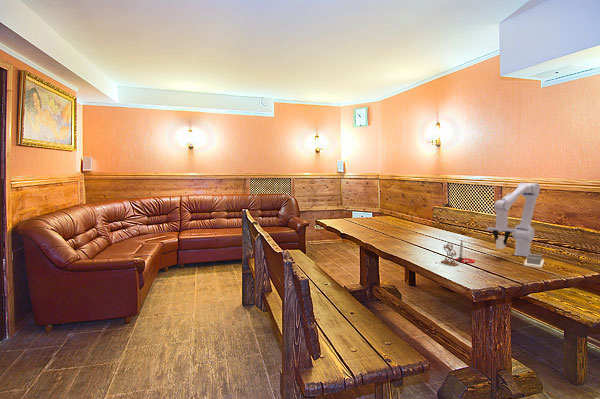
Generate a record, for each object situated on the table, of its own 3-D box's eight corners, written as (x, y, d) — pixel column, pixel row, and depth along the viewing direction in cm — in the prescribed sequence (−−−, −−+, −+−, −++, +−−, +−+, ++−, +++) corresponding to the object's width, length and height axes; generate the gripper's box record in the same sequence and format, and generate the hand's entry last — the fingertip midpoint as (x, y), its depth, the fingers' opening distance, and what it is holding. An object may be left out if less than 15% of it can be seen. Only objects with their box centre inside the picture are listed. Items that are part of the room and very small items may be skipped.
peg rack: (526, 259, 190) (527, 252, 190) (543, 261, 185) (544, 254, 184) (523, 265, 178) (524, 258, 177) (542, 268, 173) (542, 260, 172)
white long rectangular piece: (499, 244, 196) (499, 236, 196) (506, 245, 194) (506, 236, 194) (495, 248, 187) (496, 239, 187) (502, 249, 185) (503, 240, 185)
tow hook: (467, 259, 194) (454, 260, 192) (468, 238, 193) (455, 238, 191) (478, 263, 186) (464, 264, 183) (479, 241, 185) (466, 241, 182)
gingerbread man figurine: (458, 265, 181) (459, 244, 180) (453, 266, 179) (454, 245, 178) (445, 261, 189) (445, 241, 188) (440, 262, 187) (440, 242, 186)
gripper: (486, 220, 191) (485, 243, 192) (515, 222, 182) (515, 246, 183) (488, 219, 196) (488, 241, 198) (517, 221, 187) (516, 244, 188)
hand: (501, 243), depth 191 cm, fingers closed on white long rectangular piece, 3 cm apart
